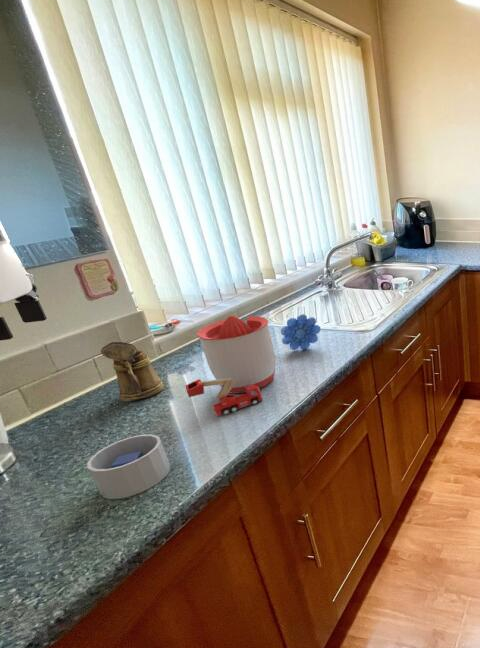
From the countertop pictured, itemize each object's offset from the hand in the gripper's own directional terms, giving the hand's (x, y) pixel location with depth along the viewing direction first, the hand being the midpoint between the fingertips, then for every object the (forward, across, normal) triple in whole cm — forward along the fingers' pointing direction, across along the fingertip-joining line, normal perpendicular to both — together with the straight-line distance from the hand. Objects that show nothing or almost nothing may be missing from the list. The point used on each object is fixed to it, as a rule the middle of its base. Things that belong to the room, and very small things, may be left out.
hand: (19, 330), depth 74 cm
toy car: (+28, +14, +14) cm, 34 cm away
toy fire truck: (+28, -6, +26) cm, 39 cm away
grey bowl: (+28, +14, +14) cm, 34 cm away
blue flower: (+28, -38, +41) cm, 63 cm away
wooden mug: (+28, -23, +3) cm, 37 cm away
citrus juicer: (+28, -20, +28) cm, 45 cm away
